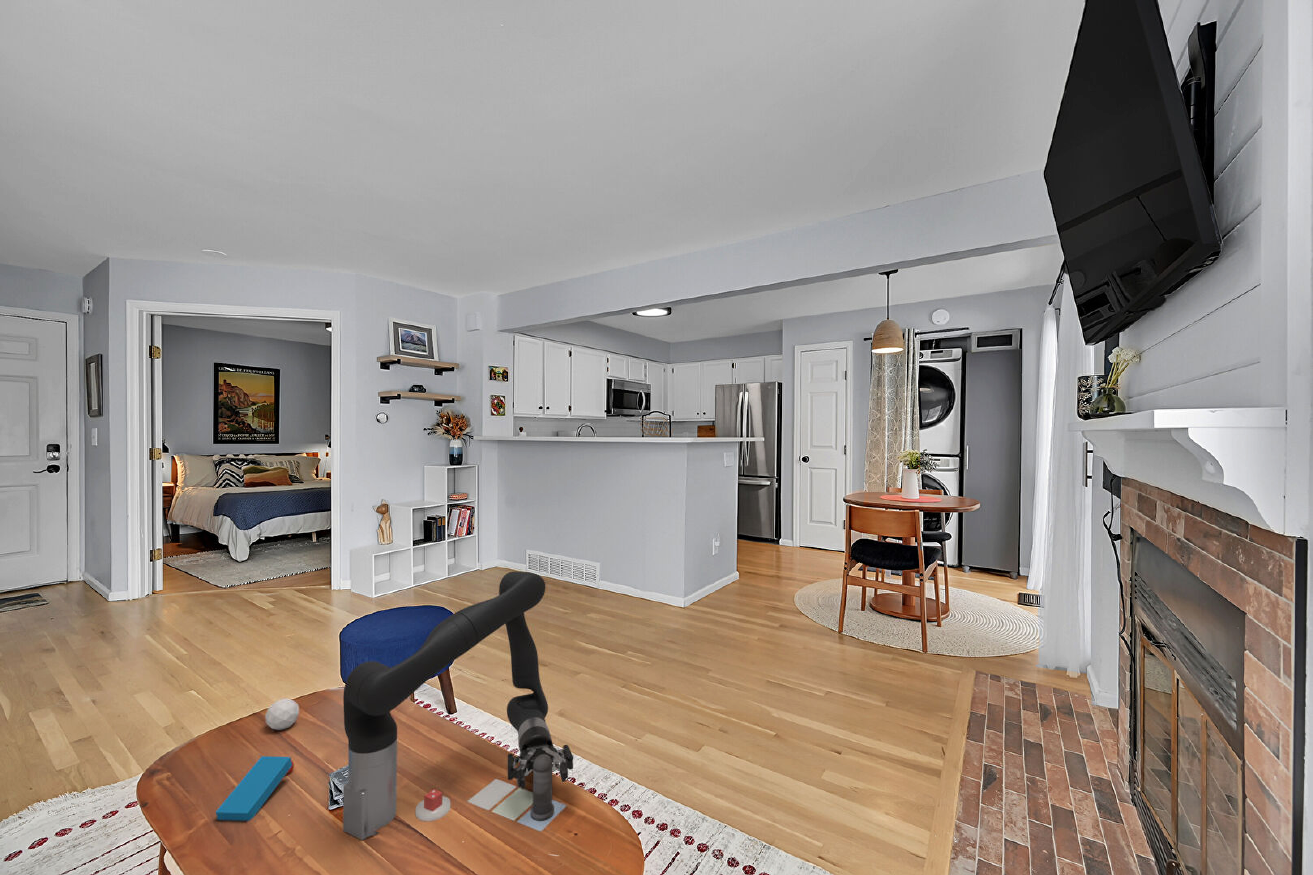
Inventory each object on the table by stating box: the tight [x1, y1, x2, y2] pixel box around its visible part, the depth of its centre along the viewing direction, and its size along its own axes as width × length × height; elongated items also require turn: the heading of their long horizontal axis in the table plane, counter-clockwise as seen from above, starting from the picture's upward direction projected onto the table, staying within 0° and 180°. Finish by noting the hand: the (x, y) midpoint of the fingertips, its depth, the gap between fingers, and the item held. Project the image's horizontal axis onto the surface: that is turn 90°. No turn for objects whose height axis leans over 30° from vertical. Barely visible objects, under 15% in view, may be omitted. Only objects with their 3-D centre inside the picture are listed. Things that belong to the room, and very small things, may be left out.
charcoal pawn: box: [529, 754, 554, 821], centre depth 122 cm, size 5×5×12 cm
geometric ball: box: [264, 698, 300, 731], centre depth 157 cm, size 8×8×8 cm
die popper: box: [415, 789, 451, 822], centre depth 123 cm, size 7×7×5 cm
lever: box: [215, 755, 295, 822], centre depth 129 cm, size 7×7×18 cm
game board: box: [466, 778, 567, 832], centre depth 126 cm, size 11×21×1 cm, turn 64°
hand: (544, 781), depth 121 cm, fingers open, 8 cm apart
